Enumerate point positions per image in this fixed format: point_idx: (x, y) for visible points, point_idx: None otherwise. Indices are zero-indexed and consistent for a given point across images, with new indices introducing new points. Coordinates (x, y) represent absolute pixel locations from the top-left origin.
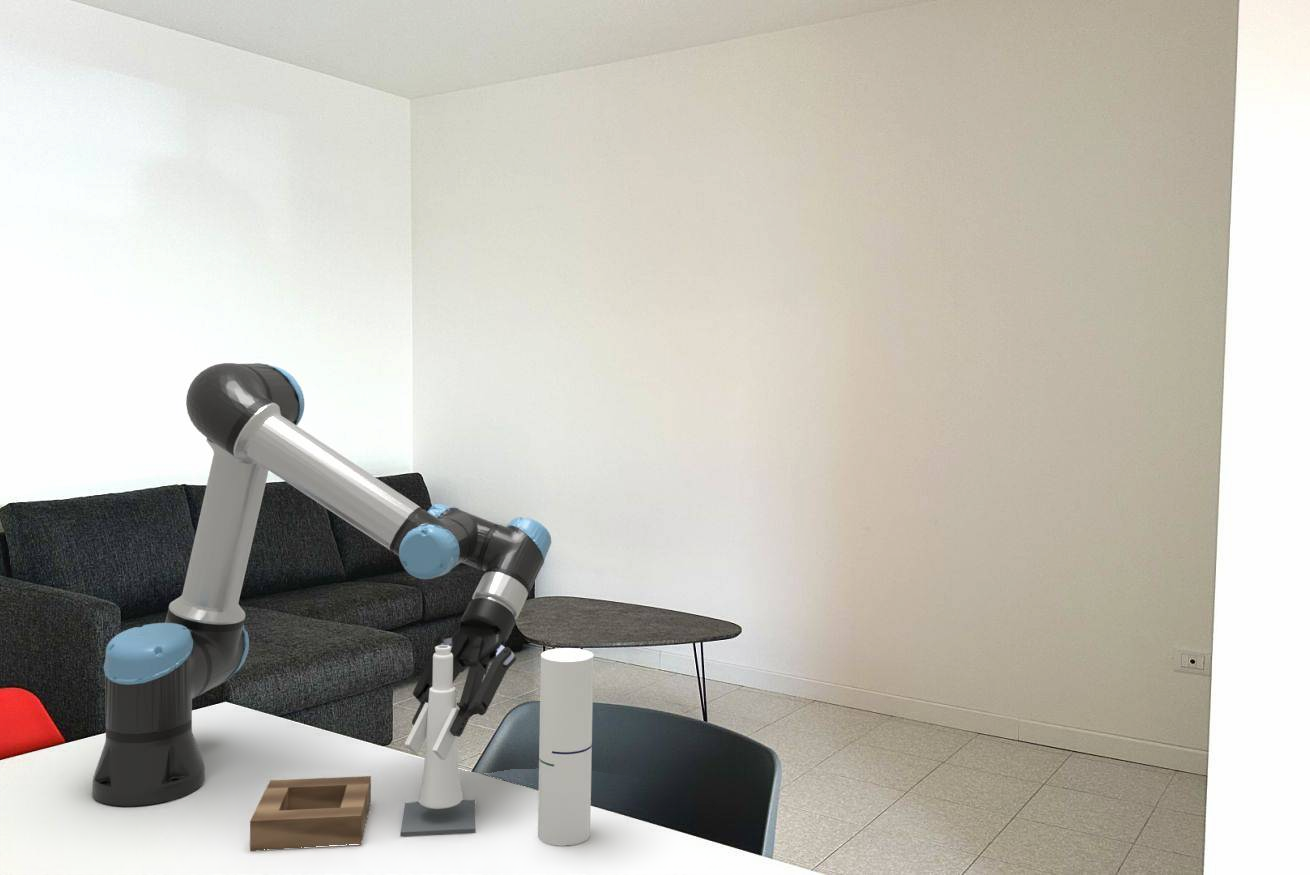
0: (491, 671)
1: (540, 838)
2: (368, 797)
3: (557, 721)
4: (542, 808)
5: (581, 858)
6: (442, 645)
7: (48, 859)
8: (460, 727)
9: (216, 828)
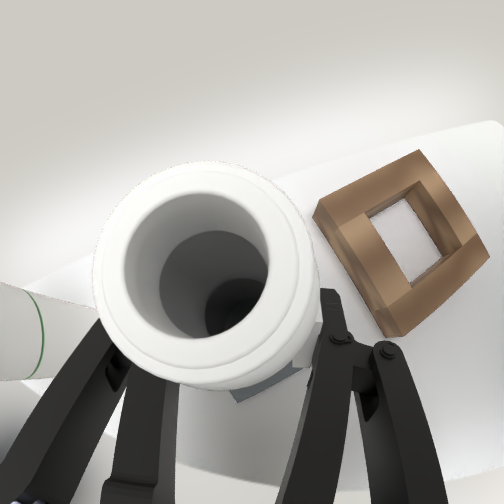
0: (40, 427)
1: None
2: (376, 304)
3: None
4: (76, 308)
5: (55, 285)
6: (238, 323)
7: (490, 127)
8: None
9: (467, 201)
